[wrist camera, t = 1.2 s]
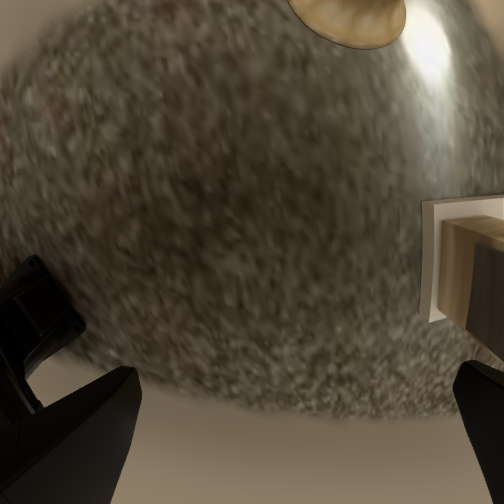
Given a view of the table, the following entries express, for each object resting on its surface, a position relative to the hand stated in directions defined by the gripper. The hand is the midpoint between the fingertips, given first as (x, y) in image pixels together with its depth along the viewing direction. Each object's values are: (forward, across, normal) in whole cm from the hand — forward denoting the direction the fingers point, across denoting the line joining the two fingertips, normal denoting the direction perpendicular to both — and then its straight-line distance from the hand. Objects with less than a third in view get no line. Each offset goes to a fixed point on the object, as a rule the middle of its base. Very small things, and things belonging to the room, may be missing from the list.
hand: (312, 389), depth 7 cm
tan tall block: (+11, -12, 0) cm, 16 cm away
